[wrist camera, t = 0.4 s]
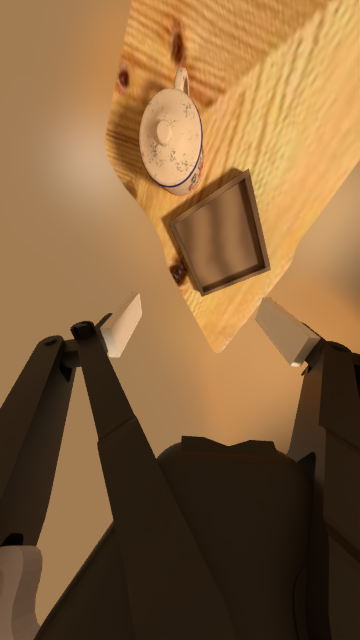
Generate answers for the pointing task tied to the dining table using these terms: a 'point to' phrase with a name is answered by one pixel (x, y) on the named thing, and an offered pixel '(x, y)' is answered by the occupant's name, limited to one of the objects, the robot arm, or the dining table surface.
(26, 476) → the robot arm
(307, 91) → the dining table surface
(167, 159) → the teacup with lid
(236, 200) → the walnut tray
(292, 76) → the dining table surface
